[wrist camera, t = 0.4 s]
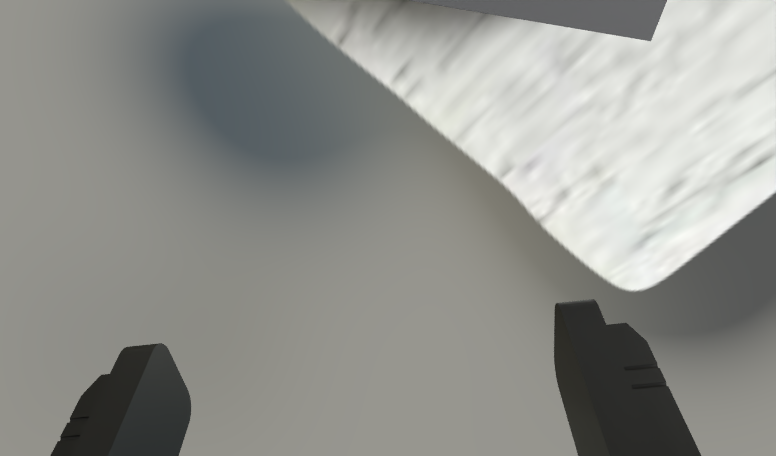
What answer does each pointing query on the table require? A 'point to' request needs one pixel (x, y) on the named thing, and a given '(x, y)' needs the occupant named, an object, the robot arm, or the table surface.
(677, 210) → the table surface
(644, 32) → the camera body
